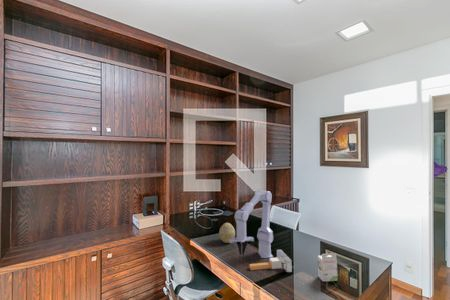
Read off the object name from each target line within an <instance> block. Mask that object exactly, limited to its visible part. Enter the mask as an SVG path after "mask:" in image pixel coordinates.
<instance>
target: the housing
mask: <svg viewBox="0 0 450 300" xmlns="http://www.w3.org/2000/svg"><path fill="white" fill-rule="evenodd" d="M276 257H279V258H280V259H281V261H282V264H283V269H284V271H285V272H286V273H292V272H293V270H292V269H293V267H292V266H293V265H292V262H293V261H292V259H291V258H290V257H289V256H288V255H287V254H286V253H285V252H284V251H283V249H276Z"/></svg>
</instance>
